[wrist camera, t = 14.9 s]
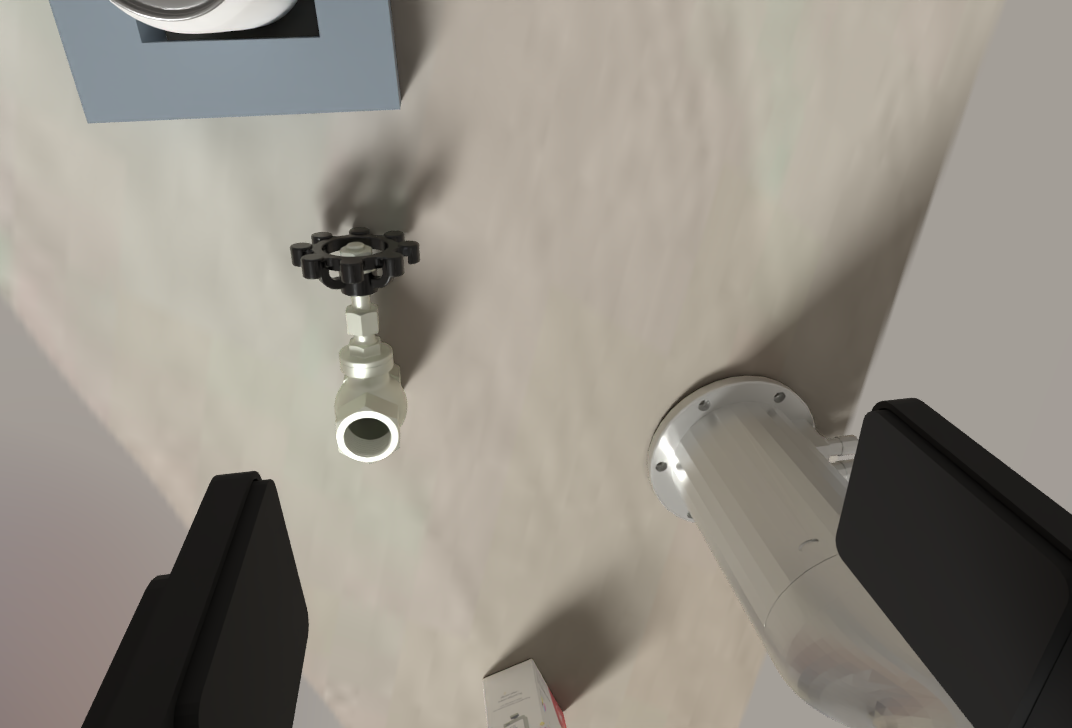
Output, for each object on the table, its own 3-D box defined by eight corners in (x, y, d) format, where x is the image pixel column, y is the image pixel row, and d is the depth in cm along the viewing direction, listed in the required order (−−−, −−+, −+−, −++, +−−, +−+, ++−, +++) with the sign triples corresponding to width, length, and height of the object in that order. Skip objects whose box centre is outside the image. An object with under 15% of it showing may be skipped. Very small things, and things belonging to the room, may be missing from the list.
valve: (428, 405, 44) (418, 225, 39) (430, 464, 38) (419, 262, 33) (324, 411, 43) (299, 228, 38) (310, 472, 37) (278, 266, 32)
